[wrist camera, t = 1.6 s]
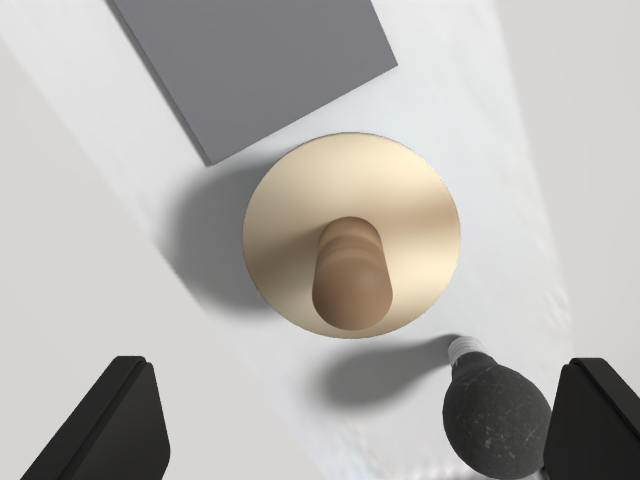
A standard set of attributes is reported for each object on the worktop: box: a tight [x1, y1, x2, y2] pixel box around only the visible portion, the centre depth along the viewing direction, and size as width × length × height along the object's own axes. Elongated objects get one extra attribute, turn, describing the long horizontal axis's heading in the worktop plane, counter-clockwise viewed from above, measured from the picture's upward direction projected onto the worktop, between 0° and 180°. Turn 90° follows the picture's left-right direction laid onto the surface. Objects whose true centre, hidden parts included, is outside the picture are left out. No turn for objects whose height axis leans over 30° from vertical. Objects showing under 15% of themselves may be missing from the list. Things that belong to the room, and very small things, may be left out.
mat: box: [113, 0, 398, 165], centre depth 23 cm, size 12×12×1 cm
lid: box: [242, 132, 461, 339], centre depth 19 cm, size 10×10×6 cm
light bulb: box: [442, 336, 552, 480], centre depth 25 cm, size 6×6×10 cm
